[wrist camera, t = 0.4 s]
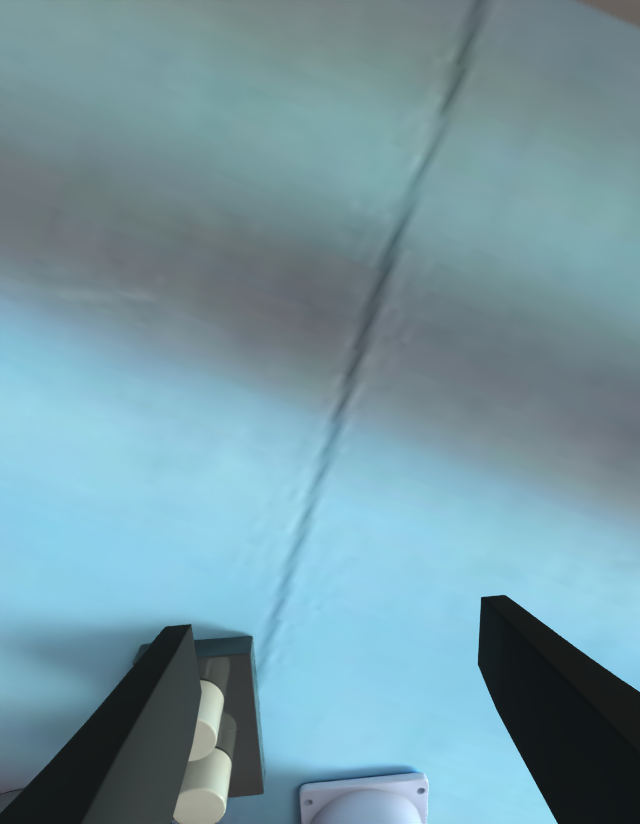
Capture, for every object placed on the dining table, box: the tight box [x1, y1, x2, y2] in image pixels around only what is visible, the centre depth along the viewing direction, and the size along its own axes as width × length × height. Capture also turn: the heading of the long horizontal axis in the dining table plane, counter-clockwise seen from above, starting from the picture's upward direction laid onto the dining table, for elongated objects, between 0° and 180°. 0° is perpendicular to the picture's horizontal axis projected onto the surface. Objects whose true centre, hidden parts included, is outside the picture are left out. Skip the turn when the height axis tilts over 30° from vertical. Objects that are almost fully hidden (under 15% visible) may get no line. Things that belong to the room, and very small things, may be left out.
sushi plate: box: [133, 636, 265, 824], centre depth 20 cm, size 10×6×3 cm, turn 2°
